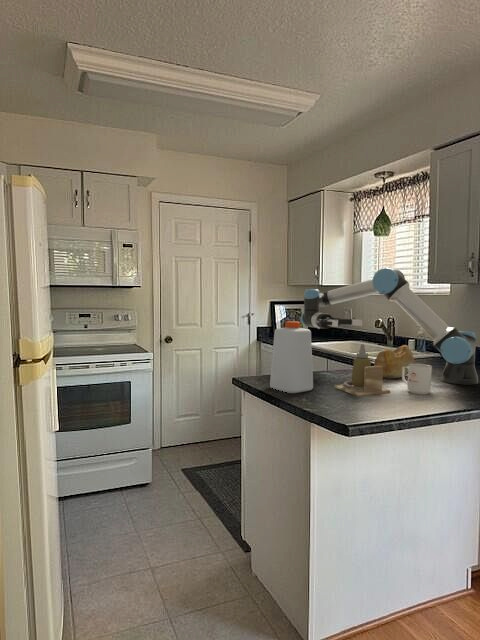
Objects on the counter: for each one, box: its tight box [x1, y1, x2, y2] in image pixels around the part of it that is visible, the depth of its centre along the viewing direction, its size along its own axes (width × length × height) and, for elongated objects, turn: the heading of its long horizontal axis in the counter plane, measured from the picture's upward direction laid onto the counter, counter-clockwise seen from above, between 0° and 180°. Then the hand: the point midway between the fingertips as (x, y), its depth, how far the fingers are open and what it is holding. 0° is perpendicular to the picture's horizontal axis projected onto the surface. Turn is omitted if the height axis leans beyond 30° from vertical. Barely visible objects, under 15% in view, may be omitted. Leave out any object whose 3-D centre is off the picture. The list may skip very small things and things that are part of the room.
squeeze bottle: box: [351, 343, 372, 387], centre depth 185 cm, size 8×8×18 cm
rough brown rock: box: [373, 344, 415, 380], centre depth 218 cm, size 23×17×15 cm
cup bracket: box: [333, 365, 391, 397], centre depth 185 cm, size 16×16×11 cm
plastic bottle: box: [269, 320, 314, 394], centre depth 184 cm, size 15×15×28 cm
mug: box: [401, 363, 433, 395], centre depth 184 cm, size 12×9×11 cm
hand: (349, 323), depth 201 cm, fingers open, 13 cm apart
